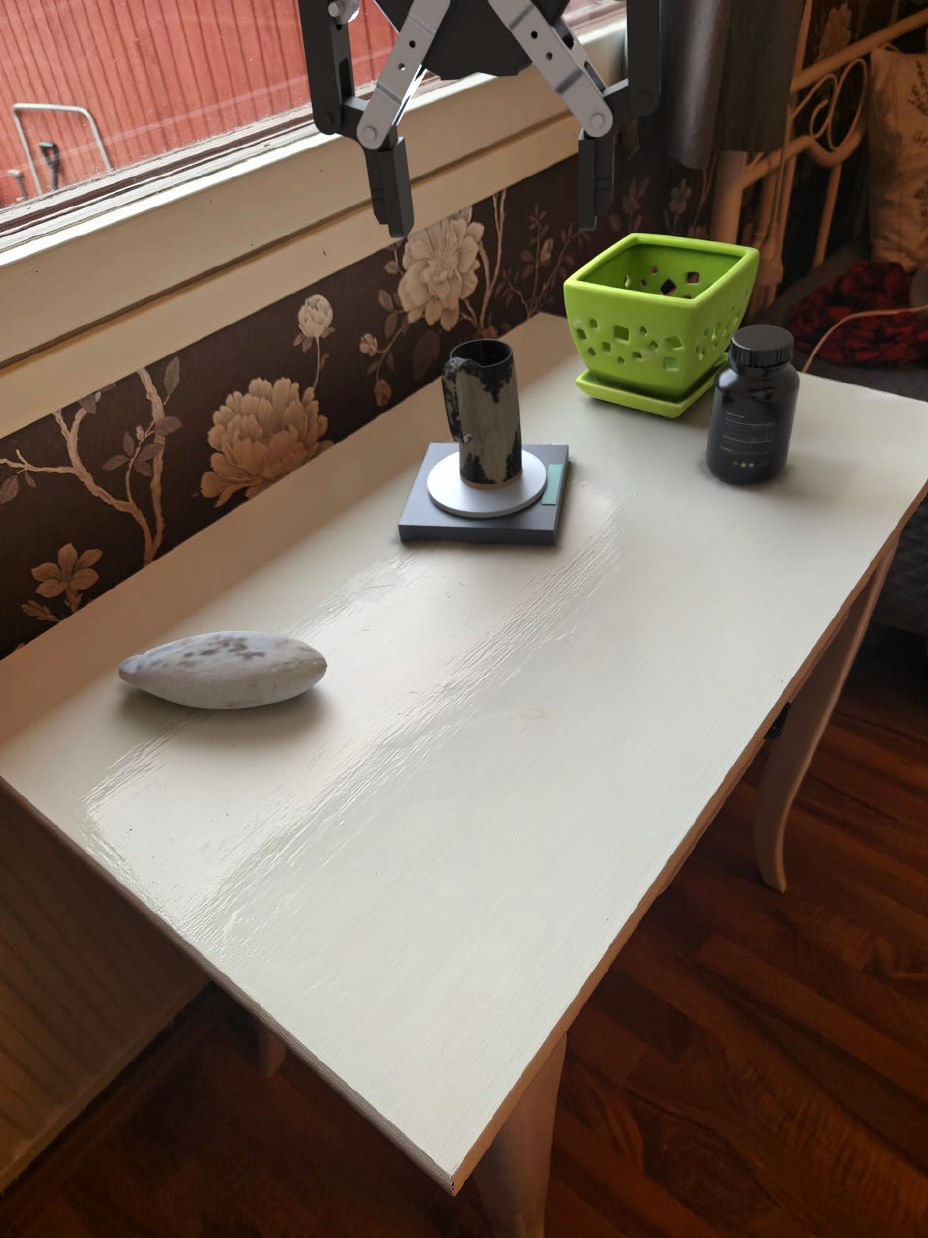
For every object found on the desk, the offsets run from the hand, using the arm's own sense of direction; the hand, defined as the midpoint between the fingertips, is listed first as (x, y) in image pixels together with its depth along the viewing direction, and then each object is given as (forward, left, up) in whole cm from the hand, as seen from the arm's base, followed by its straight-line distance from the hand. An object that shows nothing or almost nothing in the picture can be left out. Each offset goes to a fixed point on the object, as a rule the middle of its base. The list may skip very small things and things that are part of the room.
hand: (493, 228), depth 39 cm
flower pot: (-8, -42, -30) cm, 52 cm away
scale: (+6, -22, -30) cm, 38 cm away
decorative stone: (+21, +2, -30) cm, 37 cm away
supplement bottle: (-16, -28, -30) cm, 44 cm away
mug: (+6, -22, -28) cm, 36 cm away
